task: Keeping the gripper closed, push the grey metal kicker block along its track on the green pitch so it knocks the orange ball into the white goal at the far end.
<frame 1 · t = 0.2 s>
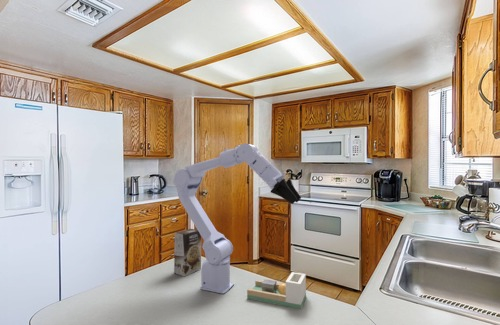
hand: (297, 200, 81), 31 cm above the countertop, tool tilted 45°, fingers open, 7 cm apart
pitch: (276, 297, 83), on the countertop
ball: (283, 289, 82), point 3 cm above the countertop, touching pitch
kicker: (269, 286, 84), point 3 cm above the countertop, slide at 0.0 cm
coffee box: (187, 271, 105), on the countertop
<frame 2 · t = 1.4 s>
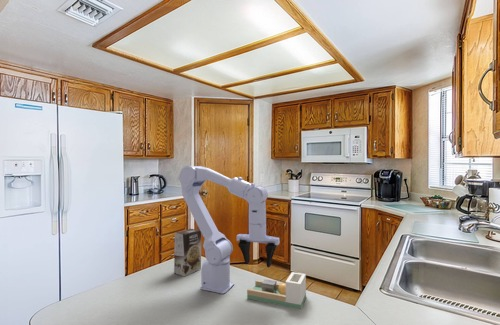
hand: (257, 264, 86), 10 cm above the countertop, tool pointing down, fingers open, 7 cm apart
nothing on the countertop moved.
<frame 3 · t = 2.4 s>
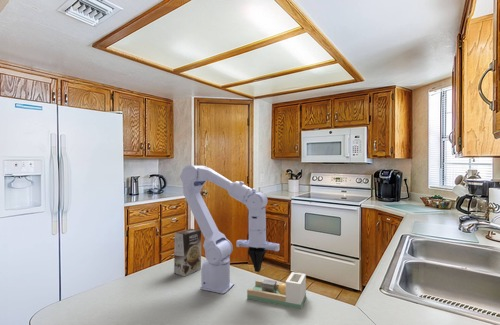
hand: (257, 270, 86), 8 cm above the countertop, tool pointing down, fingers closed
nothing on the countertop moved.
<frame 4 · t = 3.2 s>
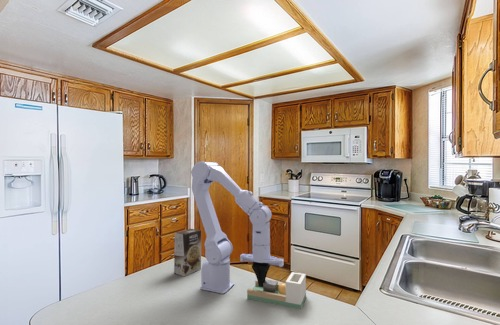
hand: (261, 285, 85), 3 cm above the countertop, tool pointing down, fingers closed
kicker: (270, 286, 84), point 3 cm above the countertop, slide at 0.5 cm, touching gripper
everything else where it was.
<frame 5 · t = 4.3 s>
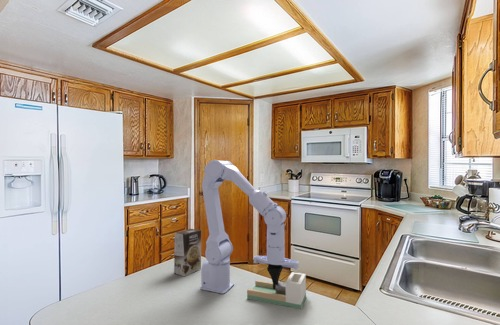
hand: (275, 288, 83), 3 cm above the countertop, tool pointing down, fingers closed, pressing on kicker
ball: (294, 291, 81), point 3 cm above the countertop, tilted 113°, touching kicker, pitch
kicker: (283, 289, 82), point 3 cm above the countertop, slide at 4.6 cm, touching ball, gripper
everything else where it was.
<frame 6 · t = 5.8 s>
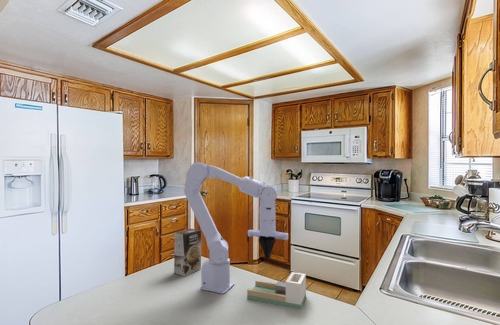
hand: (267, 258, 92), 9 cm above the countertop, tool pointing down, fingers closed
kicker: (282, 289, 82), point 3 cm above the countertop, slide at 4.5 cm, touching ball
everything else where it was.
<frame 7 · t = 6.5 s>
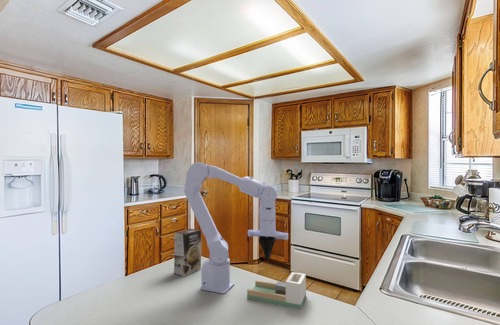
hand: (267, 258, 92), 9 cm above the countertop, tool pointing down, fingers closed
nothing on the countertop moved.
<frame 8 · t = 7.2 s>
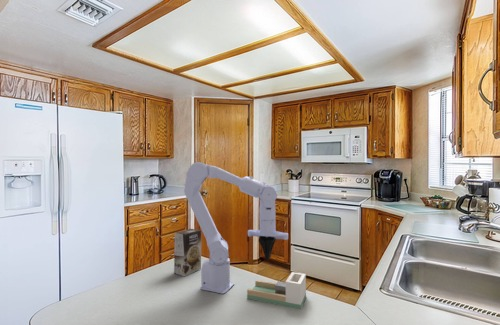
hand: (267, 258, 92), 9 cm above the countertop, tool pointing down, fingers closed
nothing on the countertop moved.
at the end: ball 0.1 cm from the target spot, point 3.0 cm above the countertop; kicker slide at 4.5 cm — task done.
